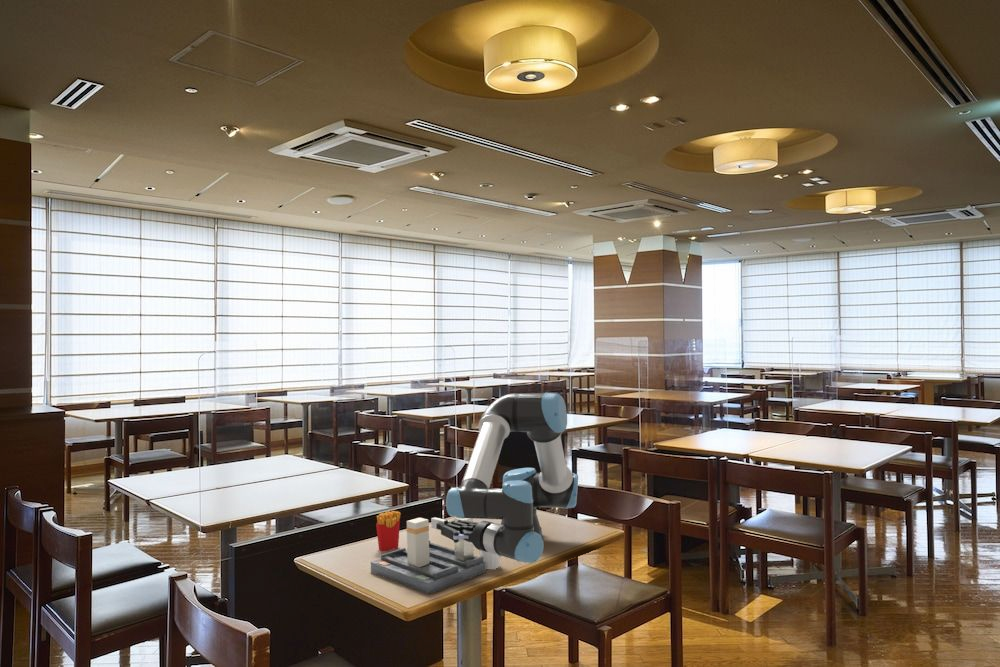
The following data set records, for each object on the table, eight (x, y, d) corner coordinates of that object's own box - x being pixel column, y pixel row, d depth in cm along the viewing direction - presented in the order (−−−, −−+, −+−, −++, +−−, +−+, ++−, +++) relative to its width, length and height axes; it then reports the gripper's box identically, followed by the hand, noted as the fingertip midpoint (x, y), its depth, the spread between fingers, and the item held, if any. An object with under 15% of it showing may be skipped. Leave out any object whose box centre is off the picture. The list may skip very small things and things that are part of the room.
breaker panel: (427, 553, 215) (426, 504, 215) (485, 572, 196) (484, 518, 196) (370, 571, 199) (369, 518, 199) (428, 594, 180) (427, 535, 180)
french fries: (380, 552, 217) (380, 515, 217) (375, 549, 220) (374, 513, 221) (403, 546, 223) (402, 511, 223) (397, 544, 226) (396, 508, 226)
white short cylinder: (504, 563, 203) (503, 540, 204) (499, 571, 197) (498, 547, 197) (482, 562, 205) (482, 539, 205) (476, 570, 198) (476, 546, 198)
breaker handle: (420, 560, 198) (419, 517, 198) (429, 563, 195) (428, 519, 195) (407, 565, 194) (406, 520, 195) (416, 568, 192) (415, 523, 192)
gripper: (473, 558, 168) (415, 540, 185) (508, 546, 178) (450, 530, 194) (473, 528, 168) (415, 513, 185) (508, 518, 178) (449, 505, 194)
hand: (433, 522), depth 189 cm, fingers closed
